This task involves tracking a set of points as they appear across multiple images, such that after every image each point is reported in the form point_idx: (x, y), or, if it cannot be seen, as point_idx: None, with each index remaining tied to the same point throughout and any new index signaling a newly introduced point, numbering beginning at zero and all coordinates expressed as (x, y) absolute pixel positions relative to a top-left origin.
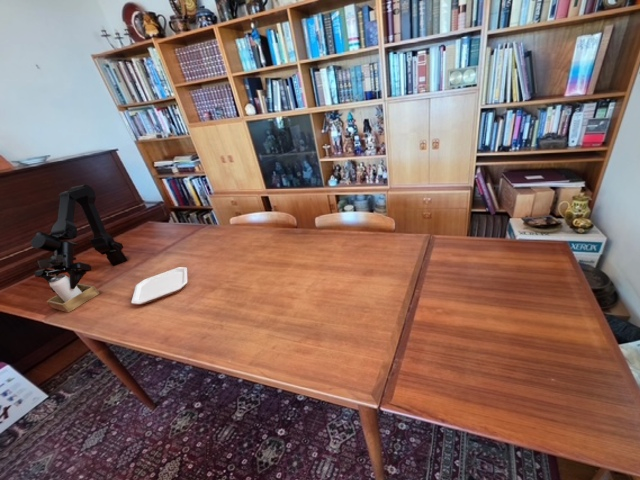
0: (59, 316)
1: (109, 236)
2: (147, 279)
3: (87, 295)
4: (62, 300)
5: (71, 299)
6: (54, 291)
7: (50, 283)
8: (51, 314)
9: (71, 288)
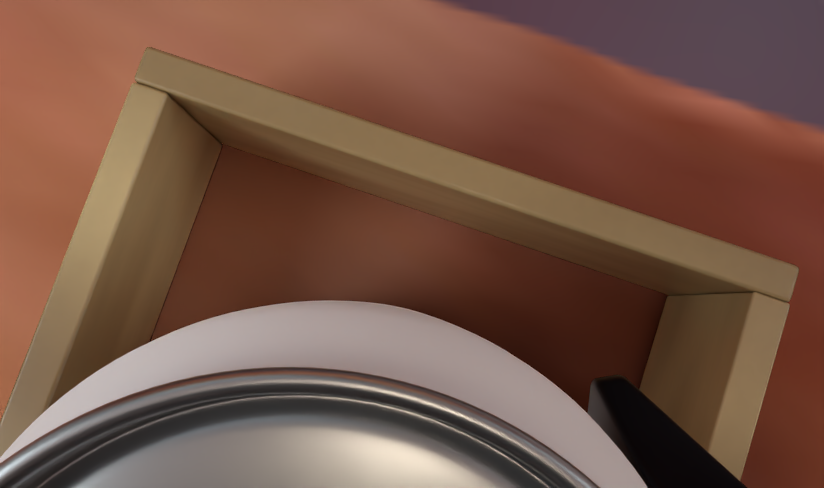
0: (308, 25)
1: None
2: None
3: None
4: None
5: (76, 227)
6: (595, 400)
7: (383, 371)
8: (549, 104)
9: None
